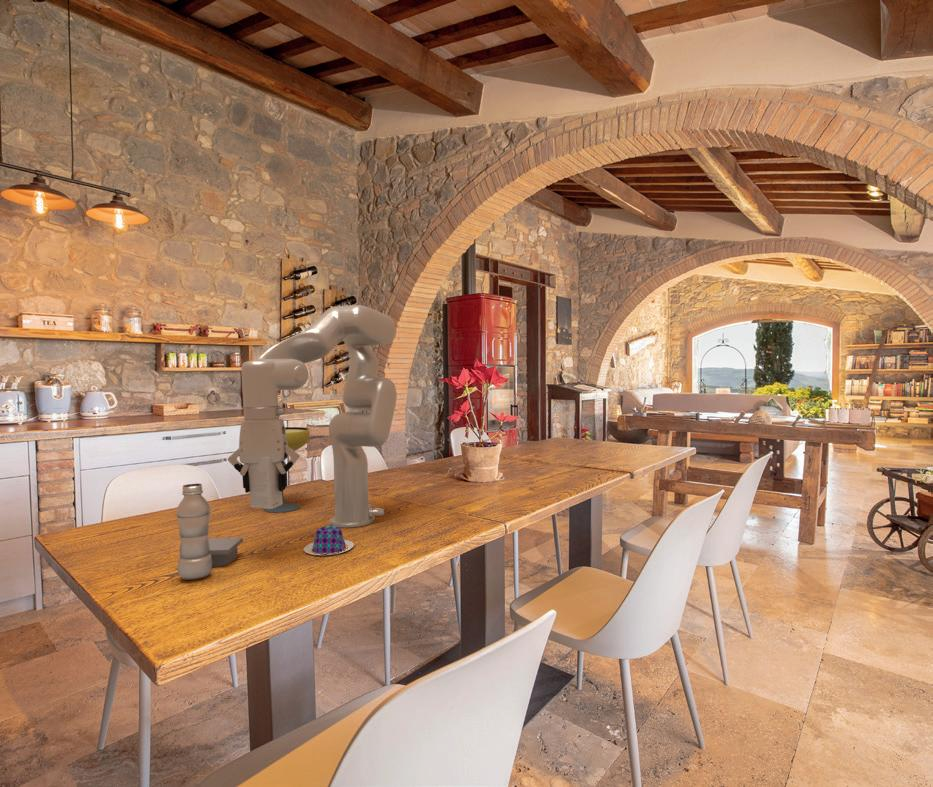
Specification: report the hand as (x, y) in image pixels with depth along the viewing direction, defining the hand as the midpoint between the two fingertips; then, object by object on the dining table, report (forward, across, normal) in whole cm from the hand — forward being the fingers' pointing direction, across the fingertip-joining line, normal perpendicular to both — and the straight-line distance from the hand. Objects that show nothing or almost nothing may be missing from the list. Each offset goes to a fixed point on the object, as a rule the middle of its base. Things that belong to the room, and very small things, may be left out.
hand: (265, 490), depth 127 cm
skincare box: (+4, 0, 0) cm, 4 cm away
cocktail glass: (+18, +10, -47) cm, 51 cm away
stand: (+16, +12, 0) cm, 20 cm away
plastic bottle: (+16, +12, +10) cm, 23 cm away
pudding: (+17, -13, -6) cm, 22 cm away
